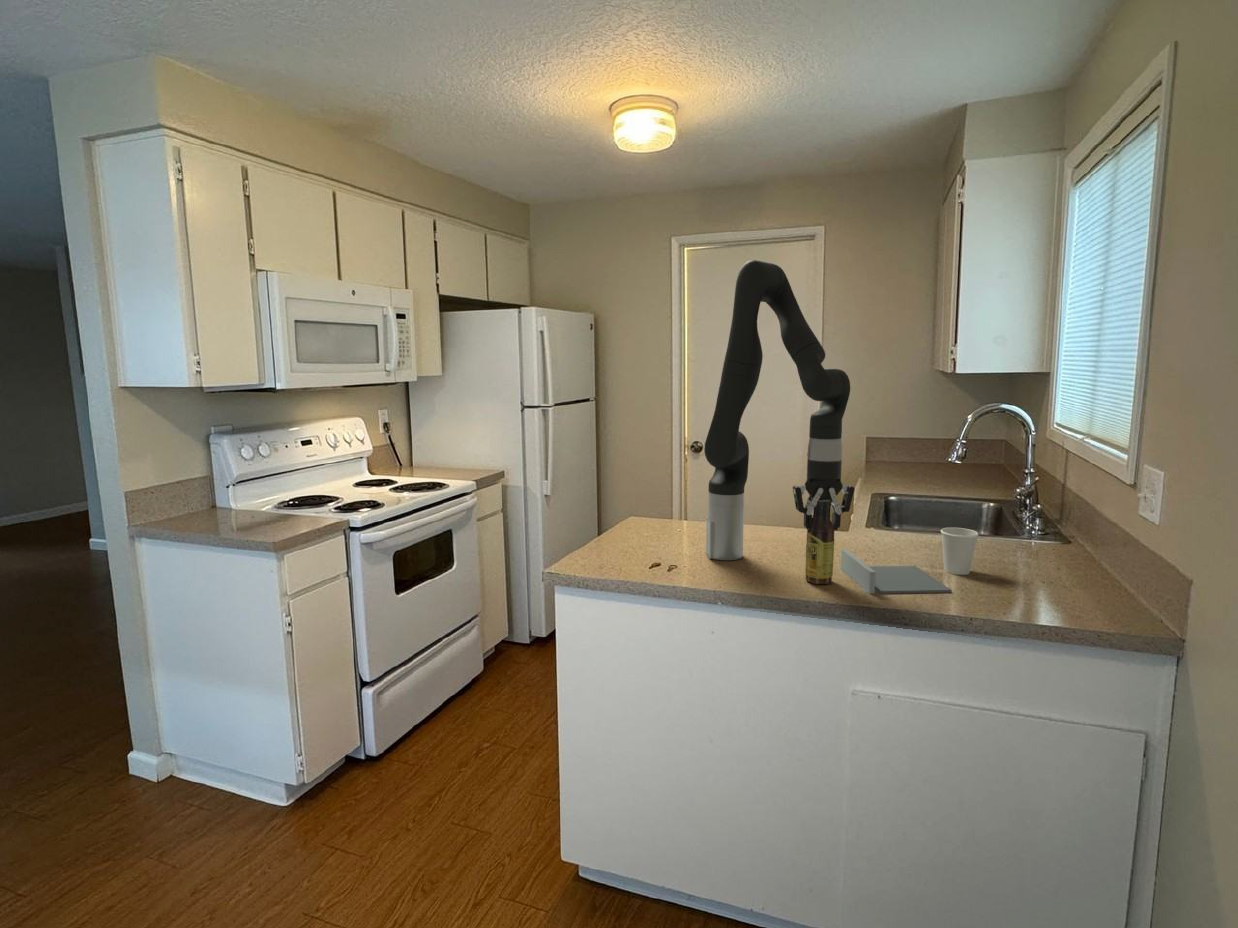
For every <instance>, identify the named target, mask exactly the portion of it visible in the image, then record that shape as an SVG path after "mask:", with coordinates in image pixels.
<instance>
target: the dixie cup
mask: <svg viewBox="0 0 1238 928" xmlns="http://www.w3.org/2000/svg"><path fill="white" fill-rule="evenodd" d="M940 533H941V543H942V545H941V546H942V547H941V548H942V560H943V571H944V572H945V573H948V574H951V575H957V576H964V575H969V574H970V572H971V568H972V563H973V559H974V554H975V550H976V545H977V540H978V537H979V532H978V531H976V530H973V529H969V528H963V527H943V528H942V529H941V530H940Z"/></svg>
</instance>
